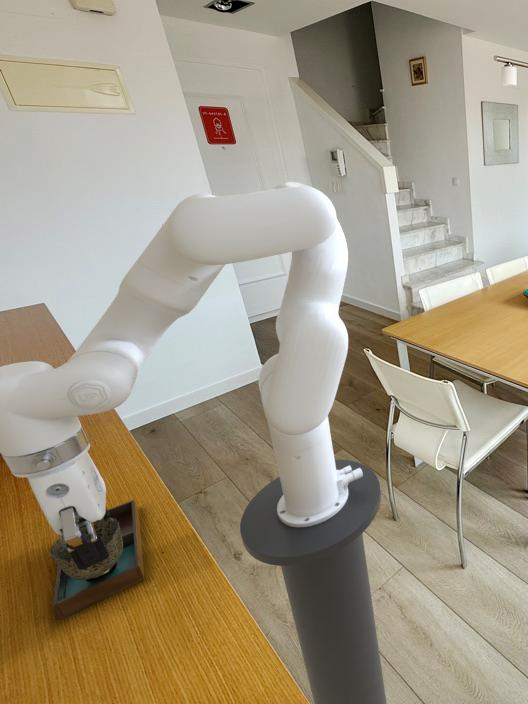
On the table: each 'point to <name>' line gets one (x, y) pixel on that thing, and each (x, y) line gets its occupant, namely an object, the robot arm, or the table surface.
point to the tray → (128, 573)
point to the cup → (99, 570)
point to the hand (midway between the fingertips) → (96, 541)
